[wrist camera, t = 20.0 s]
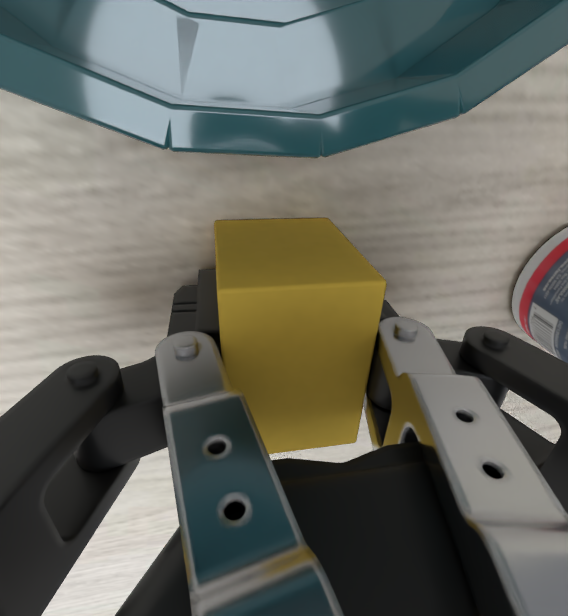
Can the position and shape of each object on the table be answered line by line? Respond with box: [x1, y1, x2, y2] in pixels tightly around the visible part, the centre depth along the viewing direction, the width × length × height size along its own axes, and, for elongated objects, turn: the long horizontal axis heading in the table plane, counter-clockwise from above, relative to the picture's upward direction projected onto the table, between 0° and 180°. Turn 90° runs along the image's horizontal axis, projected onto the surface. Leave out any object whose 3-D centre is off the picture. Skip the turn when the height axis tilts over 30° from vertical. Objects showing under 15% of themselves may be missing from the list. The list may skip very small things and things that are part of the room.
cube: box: [214, 218, 387, 454], centre depth 10 cm, size 5×4×4 cm
